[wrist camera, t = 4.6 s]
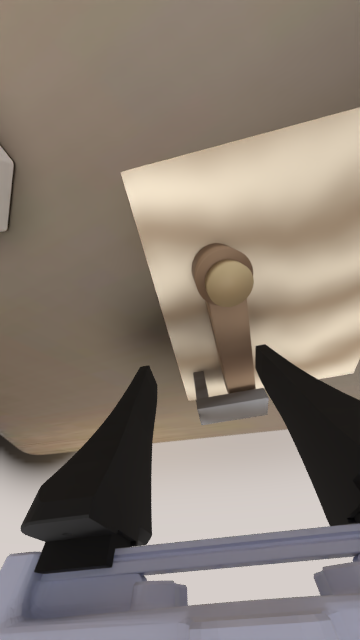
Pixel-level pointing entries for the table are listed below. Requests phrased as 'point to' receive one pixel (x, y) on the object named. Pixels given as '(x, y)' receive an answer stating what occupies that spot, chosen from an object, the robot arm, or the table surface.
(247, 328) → the brown long round-headed piece
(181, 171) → the plate
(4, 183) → the jar
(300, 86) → the table surface
